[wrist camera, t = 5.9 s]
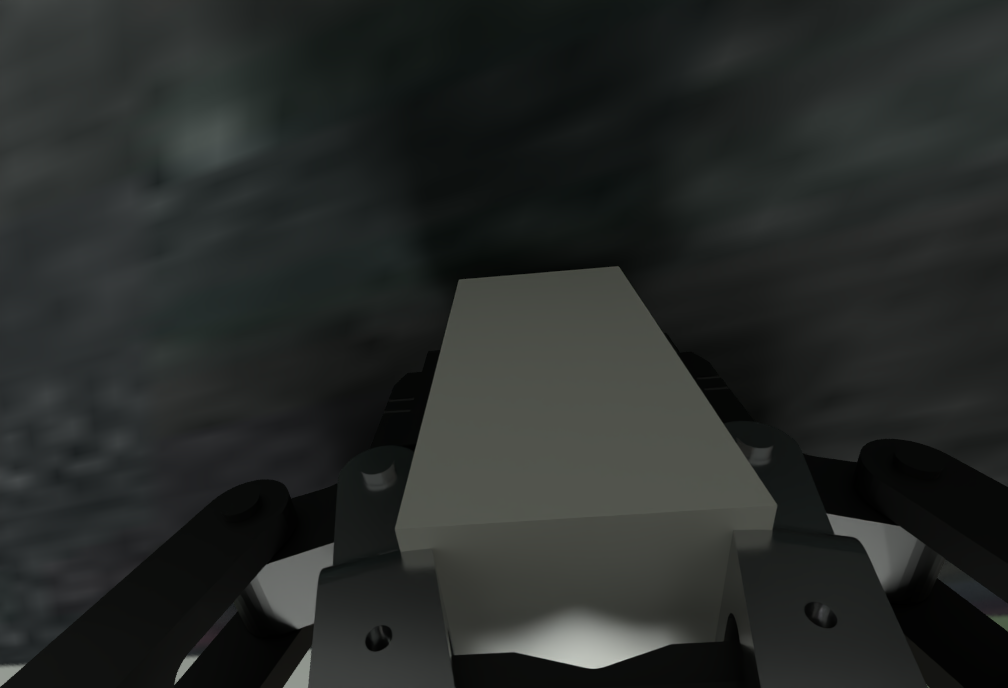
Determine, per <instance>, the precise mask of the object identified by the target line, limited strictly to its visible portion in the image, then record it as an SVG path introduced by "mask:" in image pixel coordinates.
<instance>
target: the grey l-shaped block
mask: <svg viewBox="0 0 1008 688" xmlns="http://www.w3.org/2000/svg"><path fill="white" fill-rule="evenodd" d="M776 510H777V504H776V502H775V501H774V499H773V498H772V496H771V495H770V493H769V492H768V490H767V489H766V487H765V486H764V484H763V483H762V481H761V480H760V478H759V477H758V475H757V474H756V472H755V471H754V469H753V468H752V466H751V465H750V463H749V462H748V460H747V459H746V457H745V456H744V454H743V453H742V451H741V450H740V448H739V447H738V445H737V444H736V442H735V441H734V439H733V438H732V436H731V435H730V433H729V431H728V430H727V428H726V427H725V425H724V424H723V422H722V421H721V419H720V418H719V416H718V415H717V413H716V412H715V410H714V409H713V407H712V406H711V404H710V403H709V401H708V400H707V398H706V397H705V395H704V394H703V392H702V391H701V389H700V388H699V386H698V385H697V383H696V382H695V380H694V379H693V377H692V376H691V374H690V373H689V371H688V370H687V368H686V367H685V365H684V364H683V362H682V361H681V359H680V358H679V356H678V355H677V353H676V352H675V350H674V349H673V347H672V346H671V344H670V343H669V341H668V340H667V338H666V337H665V335H664V334H663V332H662V331H661V329H660V328H659V326H658V325H657V323H656V322H655V320H654V319H653V317H652V316H651V314H650V313H649V311H648V310H647V308H646V307H645V305H644V304H643V302H642V301H641V299H640V298H639V296H638V295H637V293H636V292H635V290H634V289H633V287H632V286H631V284H630V283H629V281H628V280H627V278H626V276H625V275H624V273H623V272H622V270H621V269H620V267H619V266H615V267H603V268H591V269H579V270H567V271H555V272H544V273H532V274H520V275H508V276H496V277H484V278H472V279H460V280H459V281H458V285H457V289H456V292H455V296H454V300H453V304H452V308H451V312H450V316H449V320H448V324H447V328H446V331H445V335H444V339H443V343H442V347H441V351H440V355H439V359H438V363H437V366H436V370H435V374H434V378H433V382H432V386H431V390H430V394H429V398H428V401H427V405H426V409H425V413H424V417H423V421H422V425H421V429H420V433H419V437H418V440H417V444H416V448H415V452H414V456H413V460H412V464H411V468H410V472H409V475H408V479H407V483H406V487H405V491H404V495H403V499H402V503H401V507H400V510H399V514H398V518H397V522H396V526H395V532H396V536H397V540H398V544H399V548H400V551H401V552H404V551H412V550H421V549H430V548H432V551H433V555H434V560H435V564H436V569H437V573H438V578H439V582H440V587H441V592H442V596H443V601H444V605H445V610H446V614H447V619H448V624H449V628H450V633H451V637H452V642H453V646H454V651H455V655H466V654H485V653H505V652H516V653H520V654H525V655H530V656H534V657H539V658H543V659H548V660H552V661H557V662H561V663H566V664H571V665H575V666H580V667H584V668H590V669H598V668H602V667H606V666H609V665H611V664H614V663H617V662H620V661H623V660H626V659H629V658H632V657H635V656H638V655H641V654H644V653H647V652H650V651H652V650H655V649H658V648H661V647H664V646H667V645H670V644H682V643H702V642H715V637H716V631H717V625H718V619H719V613H720V607H721V601H722V595H723V589H724V583H725V577H726V571H727V565H728V559H729V553H730V547H731V540H732V534H733V530H772V528H773V524H774V519H775V515H776Z"/></svg>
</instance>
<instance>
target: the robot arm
mask: <svg viewBox="0 0 1008 688" xmlns="http://www.w3.org/2000/svg"><path fill="white" fill-rule="evenodd" d="M663 334H664V335H665V337H666V338H667V340H668V341H669V343H670V344H671V346H672V347H673V349H674V350H675V352H676V353H677V355H678V356H679V358H680V359H681V361H682V362H683V364H684V365H685V367H686V368H687V370H688V371H689V373H690V374H691V376H692V377H693V379H694V380H695V382H696V383H697V385H698V386H699V388H700V389H701V391H702V392H703V394H704V395H705V397H706V398H707V400H708V401H709V403H710V404H711V406H712V407H713V409H714V410H715V412H716V413H717V415H718V416H719V418H720V419H721V421H722V422H723V424H724V425H725V427H726V428H727V430H728V431H729V433H730V435H731V436H732V438H733V439H734V441H735V442H736V444H737V445H738V447H739V448H740V450H741V451H742V453H743V454H744V456H745V457H746V459H747V460H748V462H749V463H750V465H751V466H752V468H753V469H754V471H755V472H756V474H757V475H758V477H759V478H760V480H761V481H762V483H763V484H764V486H765V487H766V489H767V490H768V492H769V493H770V495H771V496H772V498H773V499H774V501H775V502H776V504H777V510H776V515H775V519H774V524H773V528H772V530H733V534H732V540H731V547H730V553H729V559H728V565H727V571H726V577H725V583H724V589H723V595H722V601H721V607H720V613H719V619H718V625H717V631H716V637H715V642H702V643H682V644H670V645H667V646H664V647H661V648H658V649H655V650H652V651H650V652H647V653H644V654H641V655H638V656H635V657H632V658H629V659H626V660H623V661H620V662H617V663H614V664H611V665H609V666H606V667H602V668H598V669H590V668H584V667H580V666H575V665H571V664H566V663H561V662H557V661H552V660H548V659H543V658H539V657H534V656H530V655H525V654H520V653H516V652H505V653H485V654H466V655H455V651H454V646H453V642H452V637H451V633H450V628H449V624H448V619H447V614H446V610H445V605H444V601H443V596H442V592H441V587H440V582H439V578H438V573H437V569H436V564H435V560H434V555H433V551H432V548H430V549H421V550H412V551H404V552H401V551H400V548H399V544H398V540H397V536H396V532H395V526H396V522H397V518H398V514H399V510H400V507H401V503H402V499H403V495H404V491H405V487H406V483H407V479H408V475H409V472H410V468H411V464H412V460H413V456H414V452H415V448H416V444H417V440H418V437H419V433H420V429H421V425H422V421H423V417H424V413H425V409H426V405H427V401H428V398H429V394H430V390H431V386H432V382H433V378H434V374H435V370H436V366H437V363H438V359H439V355H440V351H441V350H437V351H429V352H428V354H427V357H426V361H425V364H424V367H423V371H422V372H417V373H407V374H406V375H405V376H404V377H403V378H402V379H401V380H400V381H399V382H398V383H397V384H396V385H394V388H393V390H392V393H391V396H390V398H389V402H388V403H387V406H386V409H385V413H384V414H383V416H382V419H381V422H380V424H379V427H378V429H377V432H376V435H375V437H374V440H373V442H372V445H371V448H370V449H369V450H367V451H364V452H362V453H360V454H358V455H357V456H355V457H354V458H352V459H351V460H350V461H349V462H348V463H347V464H346V465H345V466H344V467H343V469H342V470H341V472H340V474H339V477H338V484H335V485H333V486H331V487H328V488H325V489H322V490H319V491H315V492H312V493H309V494H305V495H302V496H298V497H295V498H292V499H291V497H290V495H289V492H288V490H287V488H286V486H285V485H284V484H282V483H280V482H278V481H275V480H256V481H251V482H247V483H244V484H241V485H238V486H236V487H234V488H232V489H230V490H228V491H226V492H224V493H223V494H221V495H220V496H218V497H217V498H216V499H214V500H213V501H212V502H211V503H210V504H208V505H207V506H206V507H205V508H204V509H203V510H202V511H200V512H199V513H198V514H197V515H196V516H195V517H194V518H192V519H191V520H190V521H189V522H188V523H187V524H186V525H185V526H183V527H182V528H181V529H180V530H179V531H178V532H177V533H175V534H174V535H173V536H172V537H171V538H170V539H169V540H167V541H166V542H165V543H164V544H163V545H162V546H161V547H159V548H158V549H157V550H156V551H155V552H154V553H153V554H151V555H150V556H149V557H148V558H147V559H146V560H145V561H143V562H142V563H141V564H140V565H139V566H138V567H137V568H135V569H134V570H133V571H132V572H131V573H130V574H129V575H128V576H126V577H125V578H124V579H123V580H122V581H121V582H120V583H118V584H117V585H116V586H115V587H114V588H113V589H112V590H110V591H109V592H108V593H107V594H106V595H105V596H104V597H102V598H101V599H100V600H99V601H98V602H97V603H96V604H94V605H93V606H92V607H91V608H90V609H89V610H88V611H86V612H85V613H84V614H83V615H82V616H81V617H80V618H79V619H77V620H76V621H75V622H74V623H73V624H72V625H71V626H69V627H68V628H67V629H66V630H65V631H64V632H63V633H61V634H60V635H59V636H58V637H57V638H56V639H55V640H53V641H52V642H51V643H50V644H49V645H48V646H47V647H45V648H44V649H43V650H42V651H41V652H40V653H39V654H37V655H36V656H35V657H34V658H33V659H32V660H31V661H30V662H28V663H27V664H26V665H25V666H24V667H23V668H22V669H21V670H19V671H18V672H17V673H16V674H15V675H14V676H12V677H11V678H10V679H9V680H8V681H7V682H6V683H4V684H3V685H2V686H1V687H0V688H283V687H284V685H285V684H286V682H287V681H288V679H289V678H290V676H291V675H292V673H293V672H294V670H295V669H296V667H297V666H298V664H299V663H300V661H301V660H302V658H303V657H304V655H305V654H306V653H307V651H308V650H309V648H310V647H311V645H312V651H311V662H310V674H309V685H308V688H928V687H927V685H928V686H929V687H930V688H1008V632H1007V631H1006V630H1005V629H1004V628H1002V627H1001V626H1000V625H998V624H997V623H996V622H994V621H993V620H992V619H990V618H989V617H988V616H986V615H985V614H984V613H983V612H981V611H980V610H979V609H977V608H976V607H975V606H973V605H972V604H971V603H969V602H968V601H967V600H965V599H964V598H963V597H961V596H960V595H959V594H957V593H956V592H955V591H953V590H952V589H951V588H949V587H948V586H947V585H945V584H944V583H943V582H941V581H940V580H939V579H937V577H938V575H939V573H940V570H941V568H942V566H943V564H944V562H945V559H946V560H948V561H949V562H951V563H952V564H953V565H955V566H956V567H958V568H959V569H960V570H962V571H963V572H965V573H966V574H967V575H969V576H970V577H972V578H973V579H974V580H976V581H977V582H979V583H980V584H981V585H983V586H984V587H986V588H987V589H988V590H990V591H991V592H993V593H994V594H995V595H997V596H998V597H1000V598H1001V599H1002V600H1004V601H1005V602H1007V603H1008V487H1006V486H1005V485H1003V484H1001V483H999V482H997V481H995V480H994V479H992V478H990V477H988V476H986V475H984V474H983V473H981V472H979V471H977V470H975V469H973V468H972V467H970V466H968V465H966V464H964V463H962V462H960V461H959V460H957V459H955V458H953V457H951V456H949V455H948V454H946V453H943V452H941V451H939V450H937V449H934V448H932V447H929V446H926V445H923V444H920V443H916V442H912V441H906V440H898V439H881V440H875V441H872V442H869V443H867V444H866V445H865V446H863V448H862V449H861V452H860V455H859V458H858V462H850V461H843V460H836V459H828V458H821V457H815V456H809V455H806V454H803V453H802V450H801V448H800V446H799V445H798V444H797V442H796V441H795V440H794V439H793V438H792V437H790V436H789V435H788V434H786V433H785V432H783V431H781V430H779V429H777V428H774V427H772V426H769V425H766V424H762V423H758V422H754V420H753V419H752V418H751V417H750V415H749V414H748V413H747V411H746V410H745V409H744V407H743V406H742V405H741V403H740V402H739V401H738V400H737V398H736V397H735V396H734V394H733V393H732V392H731V390H730V389H727V385H726V384H725V382H724V381H723V380H722V379H721V378H719V375H718V373H717V372H716V371H715V369H714V368H713V367H712V365H711V364H710V363H709V362H708V361H706V360H704V359H703V358H701V357H699V356H697V355H696V354H694V353H692V352H684V353H680V352H679V351H678V349H677V348H676V346H675V345H674V343H673V342H672V341H671V339H670V338H669V336H668V335H667V334H666V333H663ZM232 603H234V605H235V607H236V609H237V610H238V612H237V613H236V614H235V615H234V616H233V617H232V619H231V620H230V621H229V622H228V623H227V624H226V626H225V627H224V628H223V629H222V630H221V631H220V633H219V634H218V635H217V636H216V637H215V638H214V640H213V641H212V642H211V643H210V644H209V646H208V647H207V648H206V649H205V650H204V651H203V653H202V654H201V655H200V656H199V657H198V658H197V660H196V661H195V662H194V663H193V664H192V666H191V667H190V668H189V669H188V670H187V671H186V672H185V674H184V675H183V676H182V677H181V678H180V679H179V681H178V682H177V683H176V684H175V685H174V683H175V678H176V675H177V672H178V669H179V667H180V665H181V663H182V662H183V660H184V659H185V657H186V656H187V654H188V653H189V652H190V651H191V649H192V648H193V647H194V646H195V645H196V644H197V643H198V642H199V640H200V639H201V638H202V637H203V636H204V635H205V634H206V632H207V631H208V630H209V629H210V628H211V627H212V626H213V624H214V623H215V622H216V621H217V620H218V619H219V618H220V617H221V615H222V614H223V613H224V612H225V611H226V610H227V609H228V607H229V606H230V605H231V604H232Z"/></svg>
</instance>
